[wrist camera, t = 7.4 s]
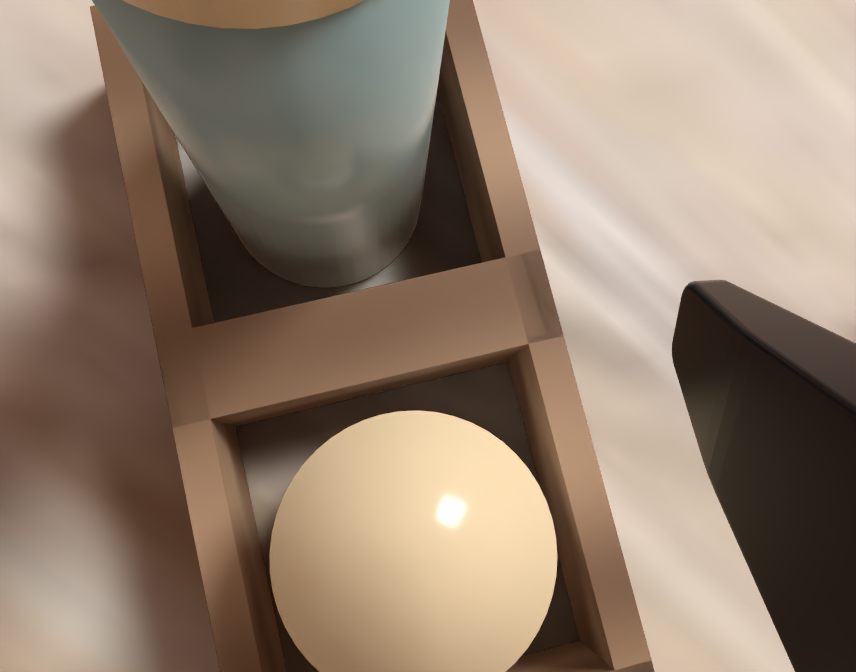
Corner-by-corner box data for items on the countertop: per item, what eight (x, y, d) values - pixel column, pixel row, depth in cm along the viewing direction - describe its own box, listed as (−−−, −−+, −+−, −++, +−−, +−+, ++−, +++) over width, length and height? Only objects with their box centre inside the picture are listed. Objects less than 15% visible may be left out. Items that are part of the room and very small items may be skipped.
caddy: (620, 665, 20) (662, 699, 17) (269, 762, 19) (248, 815, 16) (445, 8, 22) (455, -62, 19) (129, 70, 22) (90, 6, 19)
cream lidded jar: (534, 611, 20) (590, 663, 15) (325, 667, 19) (304, 742, 14) (482, 404, 21) (516, 381, 15) (279, 453, 20) (242, 447, 15)
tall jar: (459, 238, 21) (598, -187, 8) (276, 325, 21) (63, 34, 7) (371, 70, 22) (350, -608, 8) (192, 149, 21) (-159, -442, 8)
